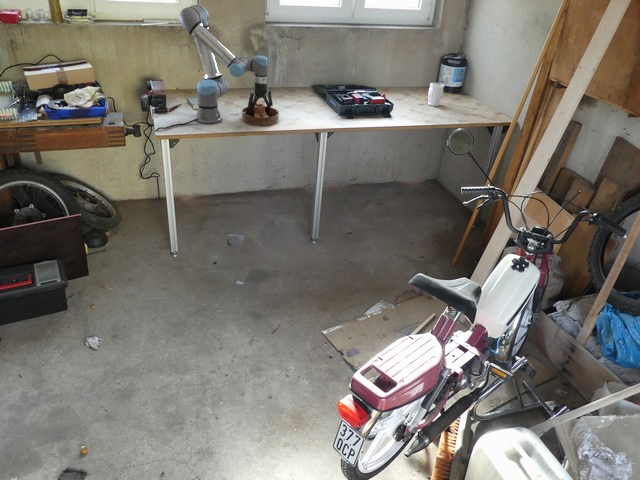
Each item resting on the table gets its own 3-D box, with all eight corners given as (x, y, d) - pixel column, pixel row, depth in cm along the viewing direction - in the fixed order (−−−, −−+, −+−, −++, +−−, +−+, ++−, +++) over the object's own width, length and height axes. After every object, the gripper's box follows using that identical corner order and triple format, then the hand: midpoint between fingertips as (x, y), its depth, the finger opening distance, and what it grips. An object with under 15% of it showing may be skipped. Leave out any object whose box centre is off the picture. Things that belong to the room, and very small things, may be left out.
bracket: (250, 113, 342) (250, 103, 338) (262, 113, 345) (263, 102, 341) (256, 123, 328) (257, 112, 324) (269, 122, 330) (270, 112, 327)
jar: (425, 105, 391) (429, 85, 383) (426, 101, 400) (430, 81, 392) (440, 107, 389) (444, 87, 381) (440, 103, 398) (444, 83, 390)
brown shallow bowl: (252, 128, 323) (252, 119, 320) (235, 116, 339) (235, 108, 336) (285, 123, 335) (285, 115, 332) (267, 112, 350) (267, 104, 347)
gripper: (247, 85, 316) (247, 121, 328) (279, 82, 327) (277, 117, 339) (241, 82, 321) (241, 117, 333) (273, 79, 332) (272, 113, 344)
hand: (259, 117), depth 336 cm, fingers closed on bracket, 9 cm apart
